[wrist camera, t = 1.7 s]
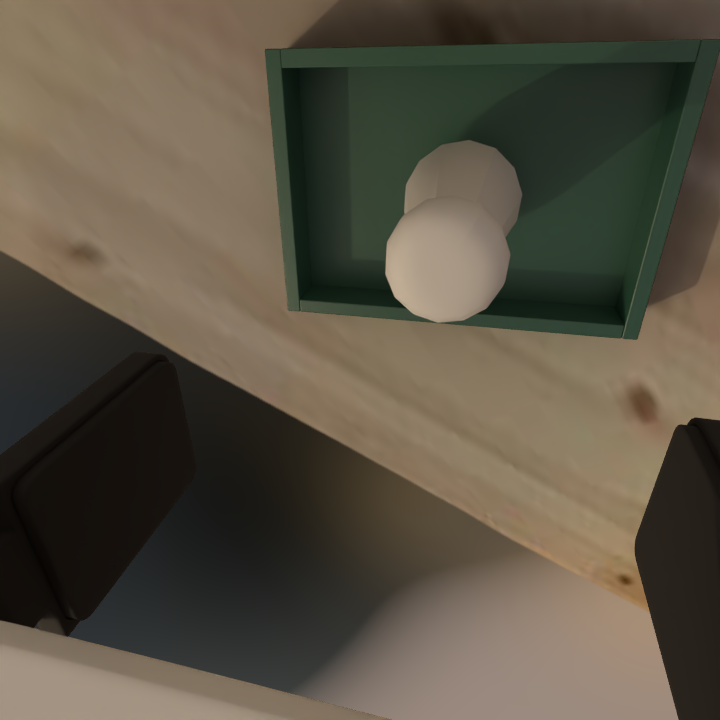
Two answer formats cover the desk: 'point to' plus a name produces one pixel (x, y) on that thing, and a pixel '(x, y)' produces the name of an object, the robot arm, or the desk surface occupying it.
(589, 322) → the tray
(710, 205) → the desk surface
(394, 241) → the salt shaker
